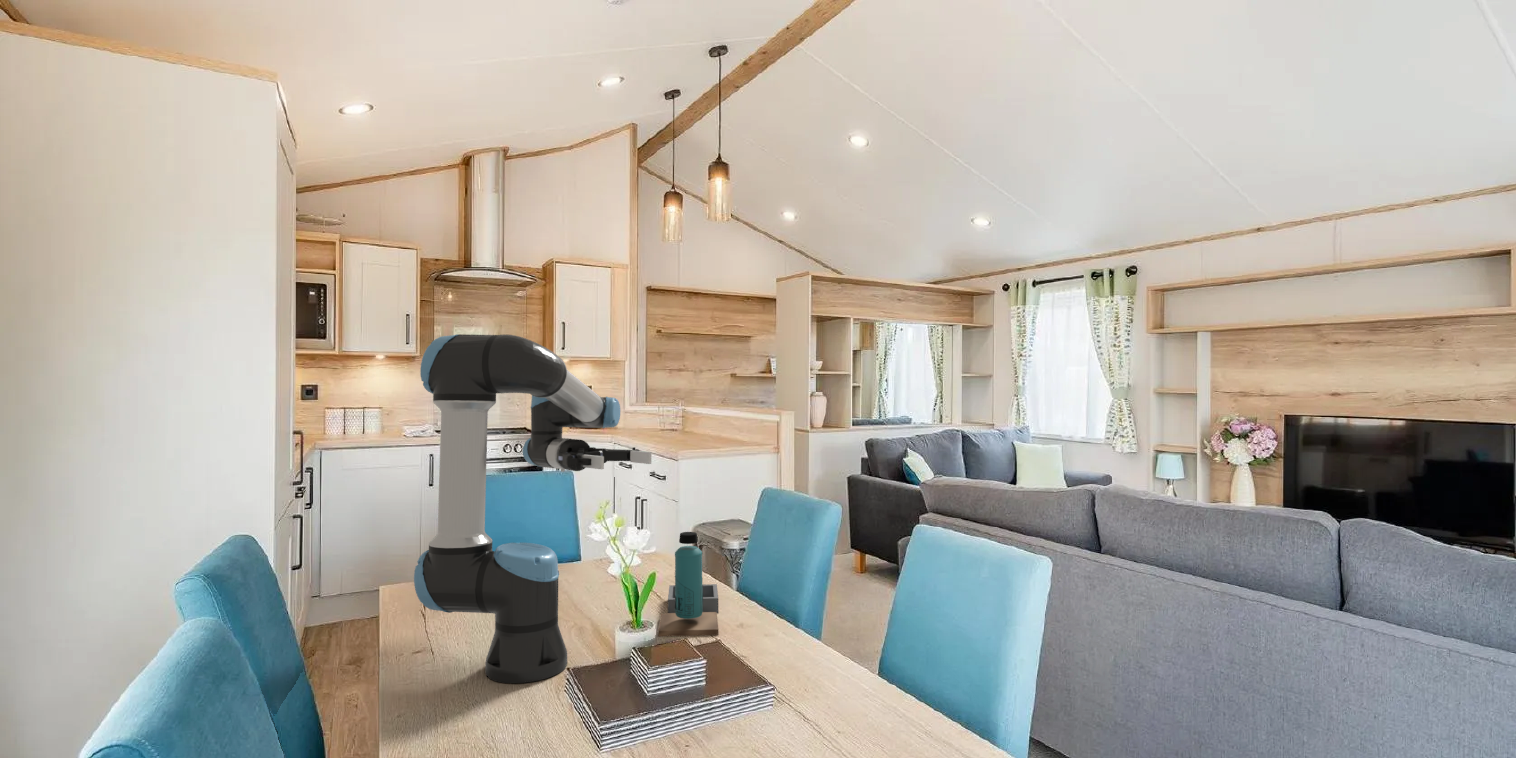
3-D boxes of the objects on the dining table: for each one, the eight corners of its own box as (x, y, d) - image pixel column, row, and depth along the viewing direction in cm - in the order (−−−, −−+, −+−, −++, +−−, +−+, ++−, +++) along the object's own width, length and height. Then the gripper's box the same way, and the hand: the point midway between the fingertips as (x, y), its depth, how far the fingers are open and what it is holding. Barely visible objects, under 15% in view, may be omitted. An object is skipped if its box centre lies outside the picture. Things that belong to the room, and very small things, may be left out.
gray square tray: (667, 614, 173) (667, 599, 173) (669, 599, 185) (669, 585, 185) (718, 612, 174) (718, 598, 174) (716, 597, 186) (716, 584, 186)
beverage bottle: (709, 619, 166) (709, 531, 166) (691, 627, 160) (691, 536, 160) (686, 614, 170) (686, 528, 169) (668, 622, 164) (668, 533, 164)
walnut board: (658, 636, 158) (658, 631, 158) (660, 618, 170) (660, 613, 170) (718, 634, 160) (718, 629, 160) (716, 616, 171) (716, 611, 171)
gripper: (611, 465, 186) (668, 472, 172) (523, 475, 167) (580, 483, 153) (611, 436, 186) (668, 440, 172) (523, 442, 167) (580, 447, 153)
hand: (627, 460), depth 163 cm, fingers open, 13 cm apart
